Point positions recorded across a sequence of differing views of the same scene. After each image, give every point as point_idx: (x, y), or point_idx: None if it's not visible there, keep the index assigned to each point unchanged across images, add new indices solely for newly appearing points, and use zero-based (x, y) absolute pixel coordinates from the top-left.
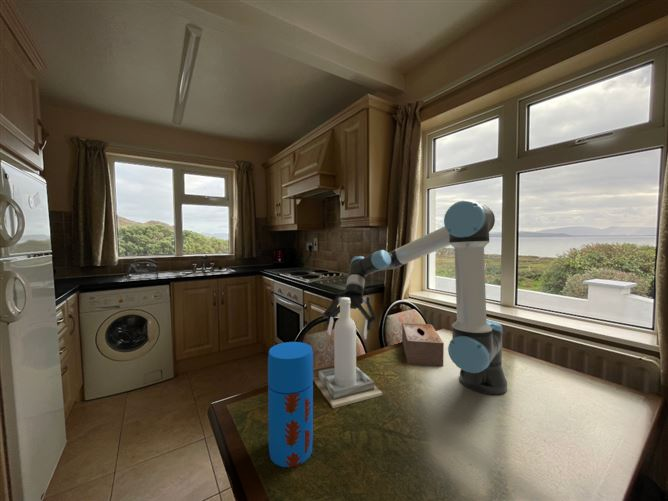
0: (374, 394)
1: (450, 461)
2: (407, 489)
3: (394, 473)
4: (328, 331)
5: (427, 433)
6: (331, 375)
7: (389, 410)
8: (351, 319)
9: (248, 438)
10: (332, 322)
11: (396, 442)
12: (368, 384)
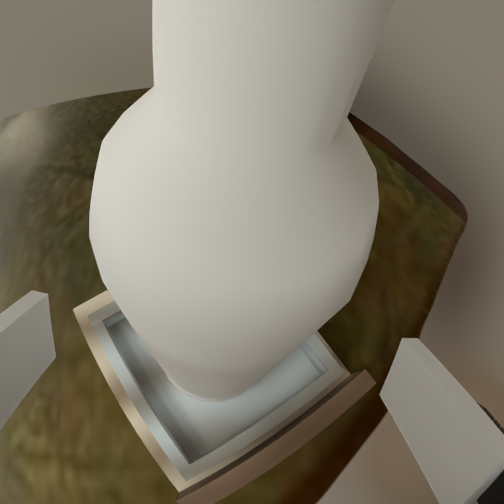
0: (99, 294)
1: (29, 139)
2: (108, 97)
3: (116, 109)
4: (411, 341)
5: (26, 182)
6: (282, 397)
7: (72, 240)
8: (136, 108)
9: (366, 145)
10: (445, 463)
11: (91, 153)
12: (111, 304)
